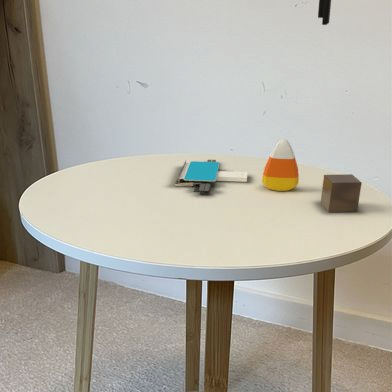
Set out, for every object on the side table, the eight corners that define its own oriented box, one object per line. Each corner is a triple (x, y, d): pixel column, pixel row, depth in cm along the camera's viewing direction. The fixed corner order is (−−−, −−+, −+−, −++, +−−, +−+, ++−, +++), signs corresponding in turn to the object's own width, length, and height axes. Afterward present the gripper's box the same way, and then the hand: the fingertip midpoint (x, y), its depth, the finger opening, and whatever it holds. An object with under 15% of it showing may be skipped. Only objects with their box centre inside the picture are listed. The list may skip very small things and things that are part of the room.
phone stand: (245, 196, 95) (246, 186, 94) (171, 193, 96) (171, 183, 95) (247, 164, 112) (248, 155, 111) (184, 162, 113) (184, 153, 112)
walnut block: (348, 202, 93) (352, 174, 91) (357, 211, 89) (361, 182, 87) (320, 203, 93) (323, 174, 90) (328, 212, 89) (332, 182, 86)
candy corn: (297, 187, 100) (303, 137, 95) (297, 192, 97) (303, 141, 93) (261, 185, 100) (265, 135, 96) (260, 190, 98) (264, 139, 94)
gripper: (304, -140, 70) (293, 25, 79) (461, -150, 66) (432, 25, 75) (310, -129, 77) (300, 23, 85) (454, -138, 73) (428, 23, 81)
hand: (361, 24), depth 80 cm, fingers open, 9 cm apart
